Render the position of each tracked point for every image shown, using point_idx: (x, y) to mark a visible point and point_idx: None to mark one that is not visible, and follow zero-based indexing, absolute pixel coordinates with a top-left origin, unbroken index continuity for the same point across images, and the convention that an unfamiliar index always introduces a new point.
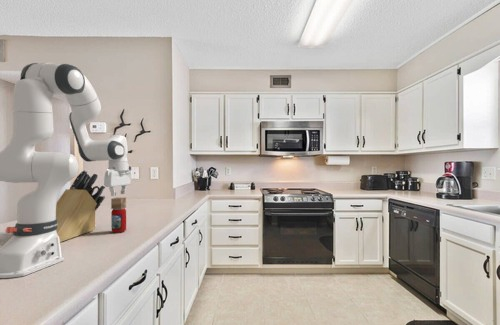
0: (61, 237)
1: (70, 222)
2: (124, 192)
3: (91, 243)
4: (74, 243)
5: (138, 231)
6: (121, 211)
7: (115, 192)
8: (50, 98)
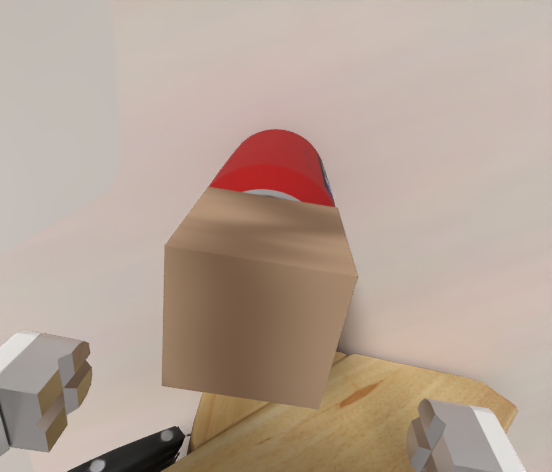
0: (480, 394)
1: None
2: (42, 352)
3: (540, 240)
4: (501, 319)
5: (282, 20)
6: (323, 196)
7: (469, 458)
8: None
